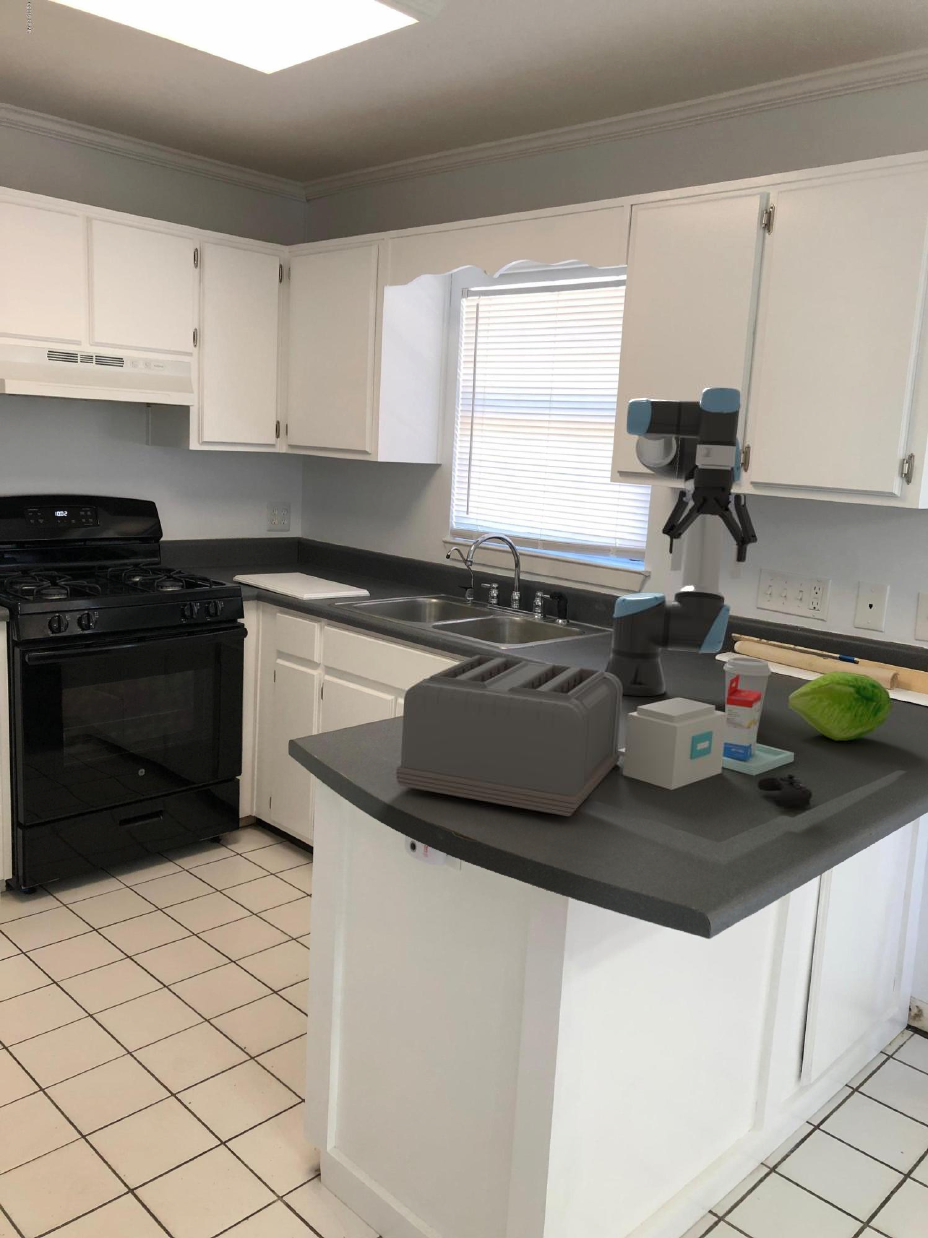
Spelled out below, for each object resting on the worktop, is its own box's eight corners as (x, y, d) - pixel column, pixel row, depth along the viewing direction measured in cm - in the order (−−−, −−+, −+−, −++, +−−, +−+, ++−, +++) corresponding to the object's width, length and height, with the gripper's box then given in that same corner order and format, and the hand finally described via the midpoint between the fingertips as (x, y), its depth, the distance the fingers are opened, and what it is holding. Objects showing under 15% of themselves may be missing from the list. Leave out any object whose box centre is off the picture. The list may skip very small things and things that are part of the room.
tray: (681, 755, 192) (682, 747, 192) (723, 742, 203) (723, 735, 202) (753, 775, 182) (754, 766, 181) (793, 761, 192) (794, 753, 192)
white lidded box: (609, 770, 180) (614, 703, 178) (660, 755, 191) (665, 692, 189) (674, 790, 170) (680, 720, 169) (723, 773, 182) (730, 707, 180)
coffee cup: (768, 730, 215) (775, 660, 212) (760, 740, 206) (768, 667, 204) (722, 723, 219) (728, 654, 216) (713, 732, 210) (720, 661, 208)
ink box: (746, 762, 187) (754, 684, 185) (720, 757, 189) (727, 680, 187) (756, 751, 195) (763, 676, 193) (730, 747, 197) (737, 673, 195)
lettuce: (788, 722, 223) (795, 661, 221) (887, 735, 216) (895, 672, 213) (783, 737, 209) (790, 672, 207) (888, 752, 202) (896, 685, 200)
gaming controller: (753, 782, 172) (781, 760, 172) (771, 805, 173) (799, 783, 173) (774, 802, 162) (804, 779, 162) (793, 826, 163) (823, 803, 163)
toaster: (625, 759, 188) (632, 664, 186) (573, 818, 155) (582, 703, 153) (473, 735, 199) (478, 645, 196) (395, 785, 166) (399, 678, 163)
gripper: (650, 464, 207) (642, 568, 210) (762, 470, 190) (751, 582, 193) (671, 465, 212) (662, 566, 216) (781, 471, 195) (770, 580, 198)
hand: (704, 574), depth 204 cm, fingers open, 13 cm apart
